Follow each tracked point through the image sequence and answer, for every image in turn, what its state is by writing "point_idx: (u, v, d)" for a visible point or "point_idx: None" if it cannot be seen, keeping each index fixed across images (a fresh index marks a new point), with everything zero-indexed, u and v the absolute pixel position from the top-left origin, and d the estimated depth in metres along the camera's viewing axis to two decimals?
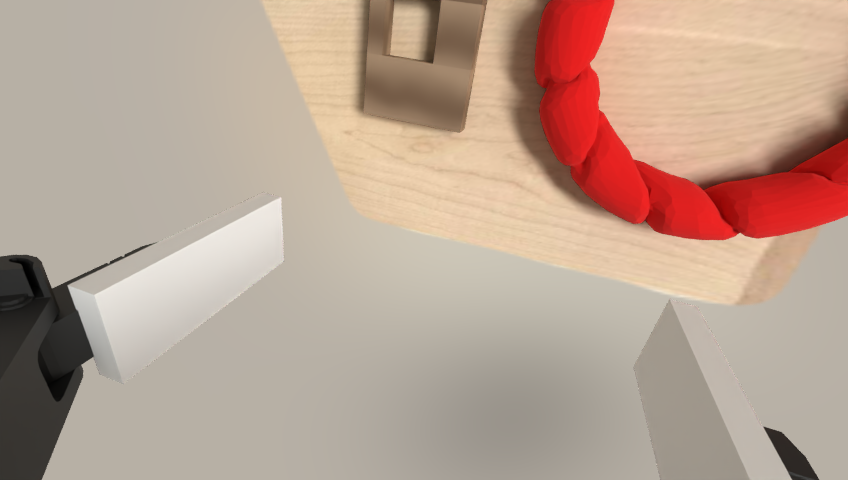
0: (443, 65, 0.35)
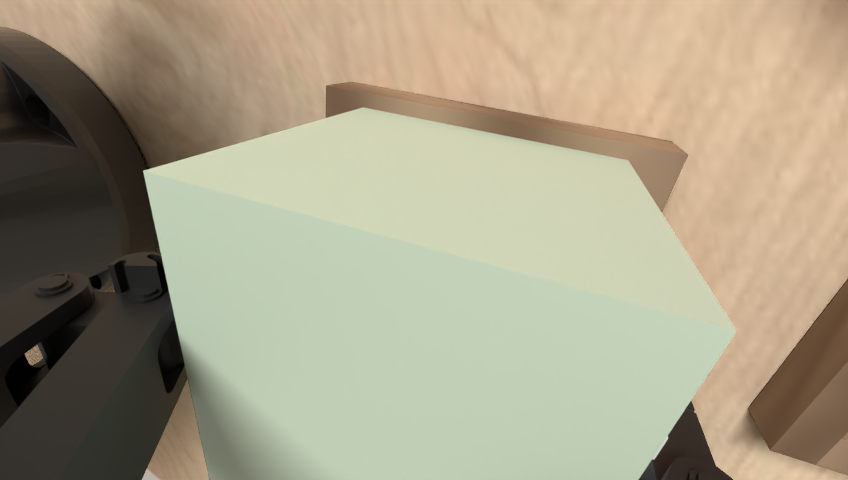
0: None
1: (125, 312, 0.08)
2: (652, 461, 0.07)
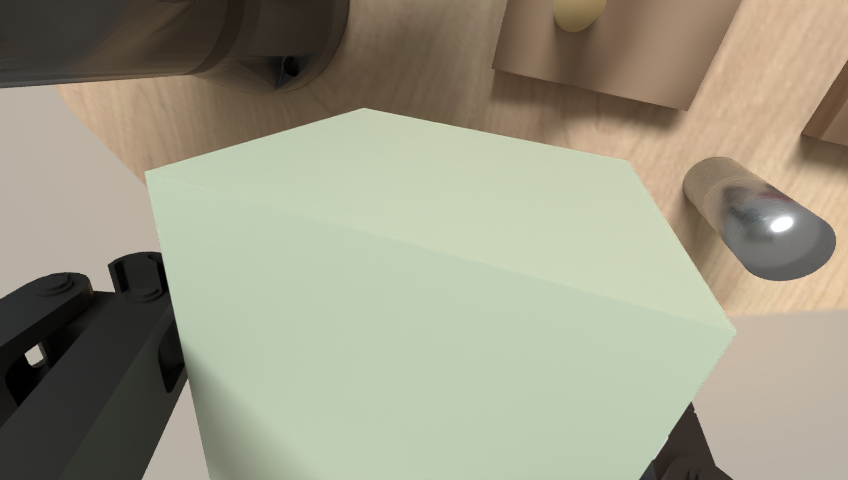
0: None
1: (125, 312, 0.08)
2: (652, 461, 0.07)
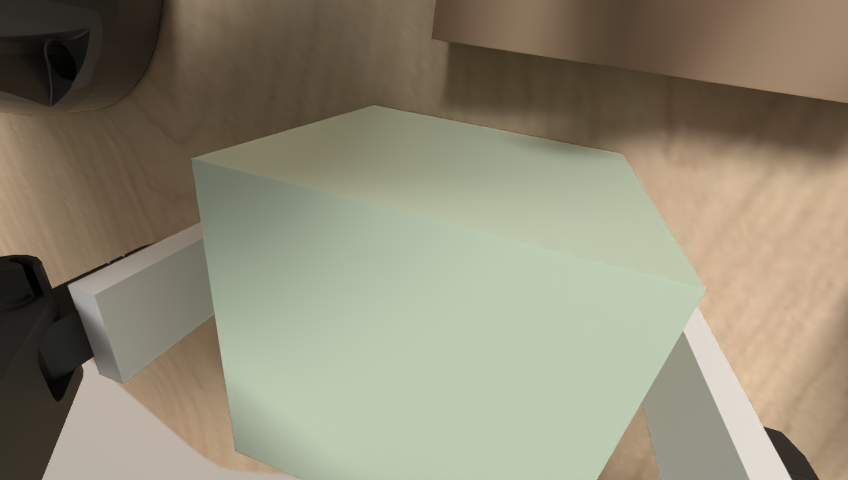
0: None
1: None
2: None
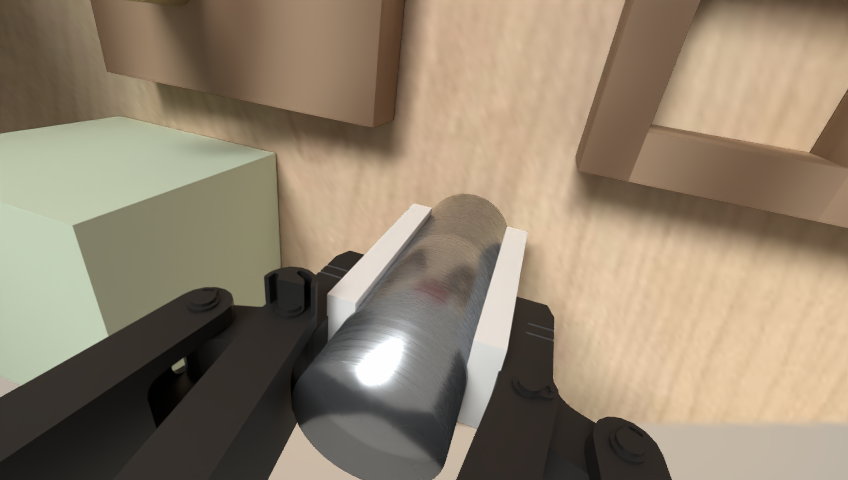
0: None
1: (271, 325, 0.08)
2: (498, 372, 0.09)
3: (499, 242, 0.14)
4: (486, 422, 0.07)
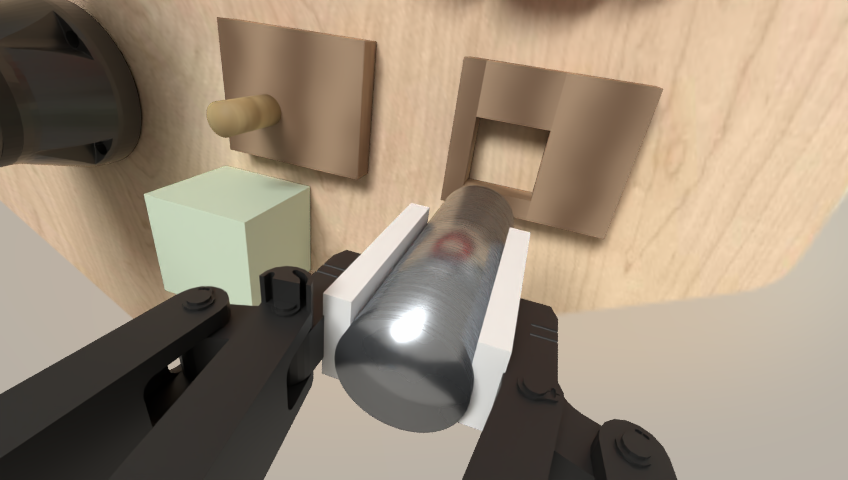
0: (555, 115, 0.25)
1: (266, 324, 0.08)
2: (503, 374, 0.09)
3: (507, 228, 0.15)
4: (491, 424, 0.07)
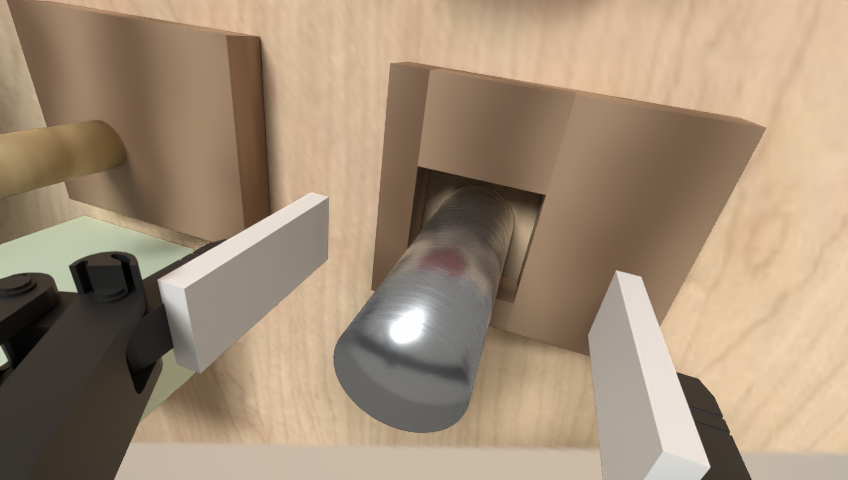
0: (553, 168, 0.14)
1: (89, 313, 0.08)
2: None
3: (507, 228, 0.15)
4: None
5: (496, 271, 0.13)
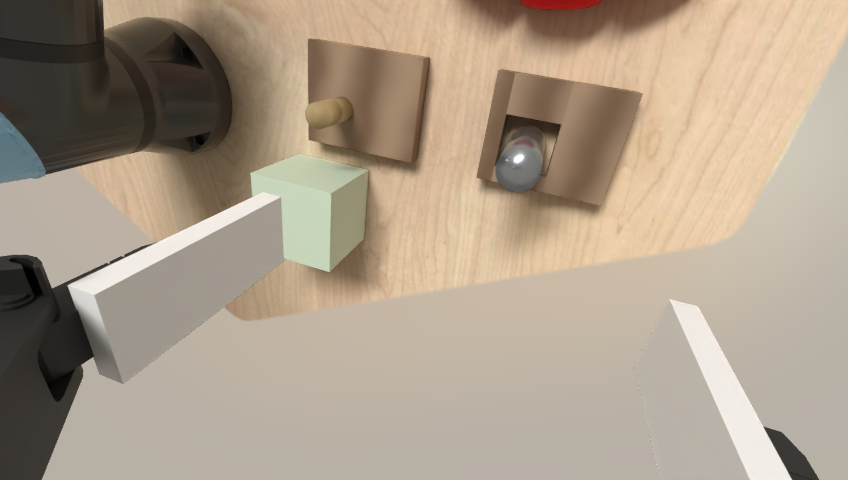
0: (565, 112, 0.34)
1: None
2: None
3: (544, 141, 0.36)
4: None
5: (543, 150, 0.33)
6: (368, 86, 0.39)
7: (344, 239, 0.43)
